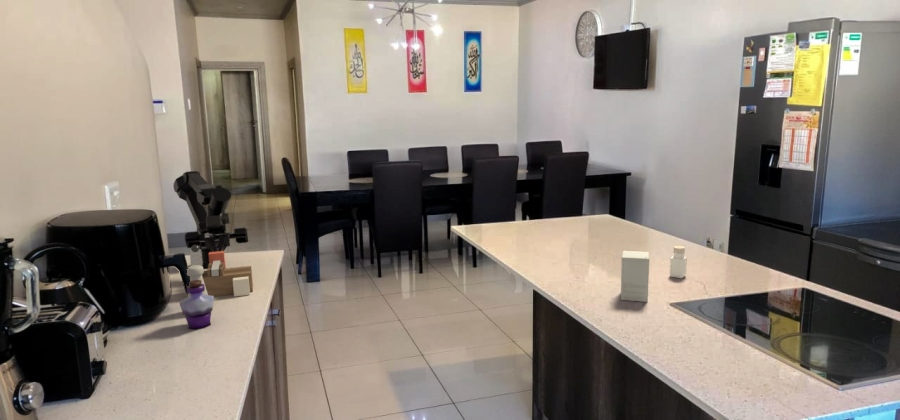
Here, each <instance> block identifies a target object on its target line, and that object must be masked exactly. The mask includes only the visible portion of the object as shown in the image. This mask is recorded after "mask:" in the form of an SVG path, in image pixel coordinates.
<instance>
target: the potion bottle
mask: <svg viewBox="0 0 900 420" xmlns="http://www.w3.org/2000/svg"><path fill="white" fill-rule="evenodd" d="M201 282H202V281H201V280H193V281H190V282H189V286H187V285H186V293H187V294H188V293H190V295H191V296H190V297H188V296H187V297H185V298H182V299H181V300H180V302H179V306H180V310H181V311H182V314H183V315H184V317H185V320H186V323H187V325H188V329H190V330H194V331H195V330H201V329H205V328H208V327H210V326H212V325H211V323H212V322H211V317H212V312H213V307H214V299H215V296H210V295H202V292H203V291H205V287H204V284H201Z"/></svg>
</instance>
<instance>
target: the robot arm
mask: <svg viewBox="0 0 900 420" xmlns="http://www.w3.org/2000/svg"><path fill="white" fill-rule="evenodd" d="M173 191H174V192H175V193H176V194H177V197H178V198H179V199H181V200H183V201H185V202H186V205H187V206H188V209H189V211H190V214H191V216H192V217H193V220H194V223H195V224H196V226H197V231H190V232H189V231H187V232H186V233H185V234H184V241H185V245H186V248H187V249H191V247H192V246H193V245H198V246H199V247H200V249H201V253H202V267H203V269H208V266H209V252H218V251H224V252H225V250H226V249H227V247H231V241H230V240H231V239H233V240H234V239H235V243H237V244H246V243H249V234H248V228H247V227H245V226H244V227H243V226H242V227H234V229H233V230H234V231H231V232H227V225H229V224H231V223H230V213H228V212H227V213H226V210H227V209H228V207H229V205H230V201H231V198H232V192H231V191H230V190H228V189H227V188H226V187H223V186H222V185H221V184H220V185H219V184H218V185H216V184H209V183H208V181H207V180H205V178H204V177H202V175H201V173H200V171H197V170H192V171H191V170H190V171H185V172H183V174H182V175H180V176H178V177H177V178H175V180H174V182H173ZM205 206H207V207H206V208H205Z"/></svg>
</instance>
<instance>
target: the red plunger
mask: <svg viewBox="0 0 900 420" xmlns="http://www.w3.org/2000/svg"><path fill="white" fill-rule="evenodd" d="M225 257H226V256H225V250H224V251H218V252H209V263H212V268H211V275H212V276H219V273H220V264H221V262H224V269H226V258H225Z"/></svg>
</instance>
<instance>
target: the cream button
mask: <svg viewBox="0 0 900 420" xmlns="http://www.w3.org/2000/svg"><path fill="white" fill-rule="evenodd" d="M233 289H234V294H233V297H243V296H250V294H251V292H250V287H249V276H247V277H238V278H233Z"/></svg>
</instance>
